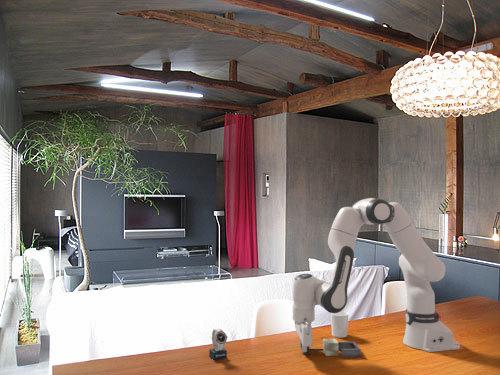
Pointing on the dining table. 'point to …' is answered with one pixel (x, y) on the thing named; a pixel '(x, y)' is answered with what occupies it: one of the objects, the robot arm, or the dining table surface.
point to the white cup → (339, 324)
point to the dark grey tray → (349, 349)
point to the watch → (218, 345)
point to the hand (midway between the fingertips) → (303, 349)
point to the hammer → (326, 348)
